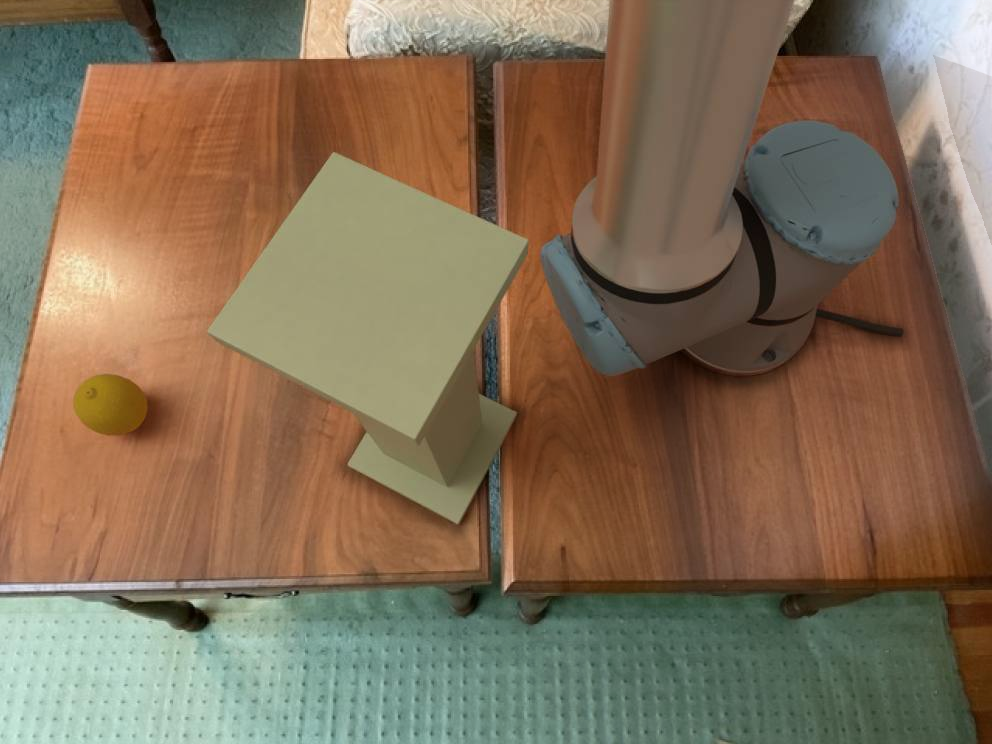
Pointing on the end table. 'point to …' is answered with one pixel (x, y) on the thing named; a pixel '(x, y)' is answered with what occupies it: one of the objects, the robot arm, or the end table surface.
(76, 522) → the end table surface
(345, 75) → the end table surface
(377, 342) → the plant stand
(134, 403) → the lemon
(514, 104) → the end table surface
